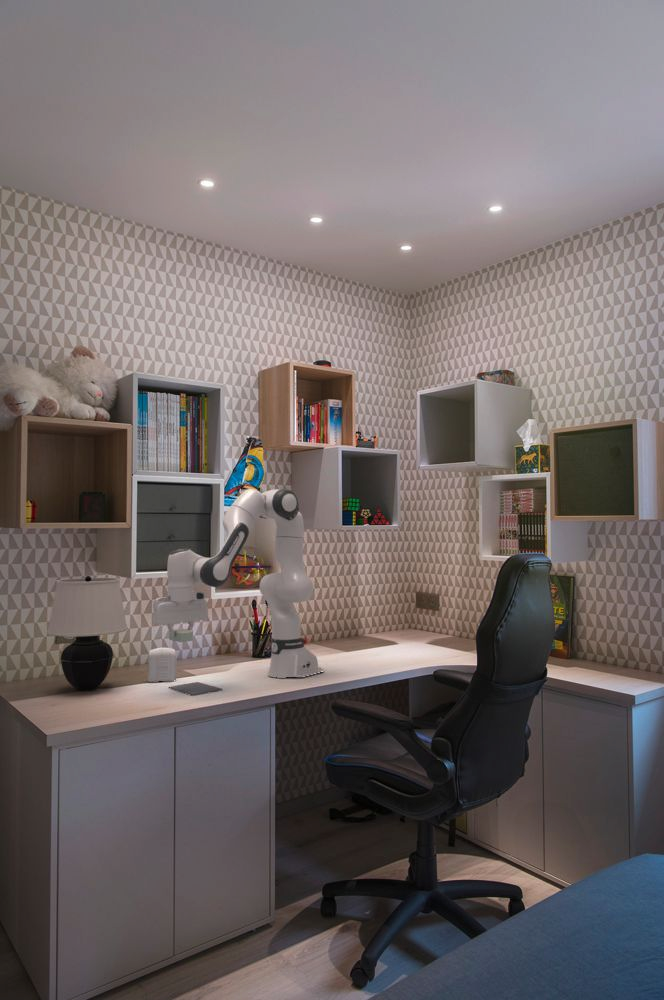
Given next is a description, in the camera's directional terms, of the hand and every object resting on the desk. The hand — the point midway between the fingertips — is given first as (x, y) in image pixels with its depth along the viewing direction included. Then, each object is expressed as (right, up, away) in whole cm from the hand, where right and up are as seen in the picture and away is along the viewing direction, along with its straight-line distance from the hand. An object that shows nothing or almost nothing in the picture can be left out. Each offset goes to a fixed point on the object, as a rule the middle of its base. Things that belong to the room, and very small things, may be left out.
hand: (181, 635), depth 245 cm
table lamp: (-34, -20, +4) cm, 40 cm away
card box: (0, -2, 0) cm, 2 cm away
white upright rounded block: (-11, -21, +17) cm, 29 cm away
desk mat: (+4, -20, +3) cm, 20 cm away
